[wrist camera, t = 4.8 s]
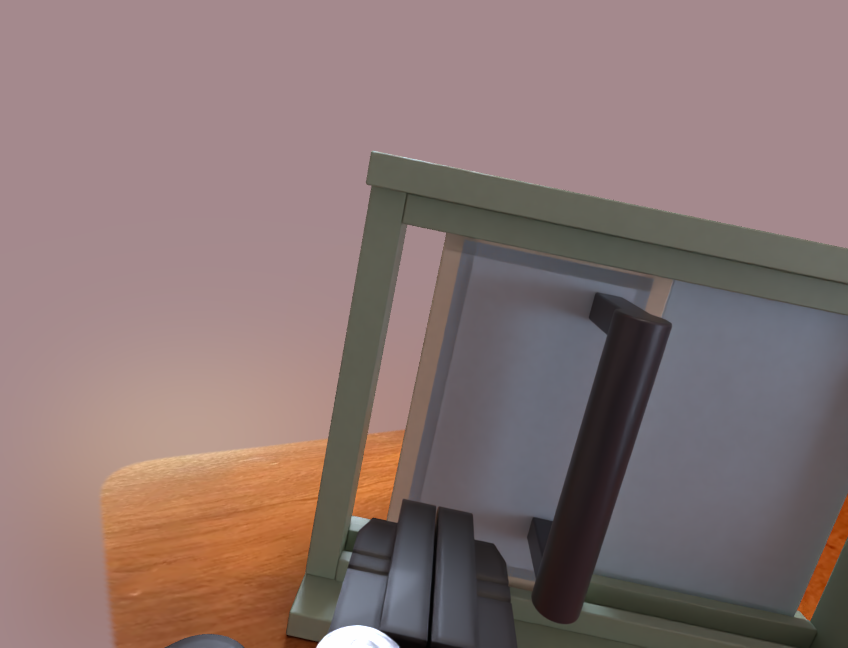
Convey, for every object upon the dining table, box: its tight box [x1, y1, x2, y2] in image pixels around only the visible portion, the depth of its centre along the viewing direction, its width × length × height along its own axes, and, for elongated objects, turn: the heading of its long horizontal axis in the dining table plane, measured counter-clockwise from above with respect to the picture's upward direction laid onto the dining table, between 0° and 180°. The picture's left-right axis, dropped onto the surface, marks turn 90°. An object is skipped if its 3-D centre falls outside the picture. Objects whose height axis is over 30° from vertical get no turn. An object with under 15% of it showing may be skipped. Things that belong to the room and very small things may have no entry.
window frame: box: [286, 151, 848, 648], centre depth 20 cm, size 6×22×17 cm, turn 86°
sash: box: [387, 233, 673, 624], centre depth 18 cm, size 5×8×14 cm, turn 86°
